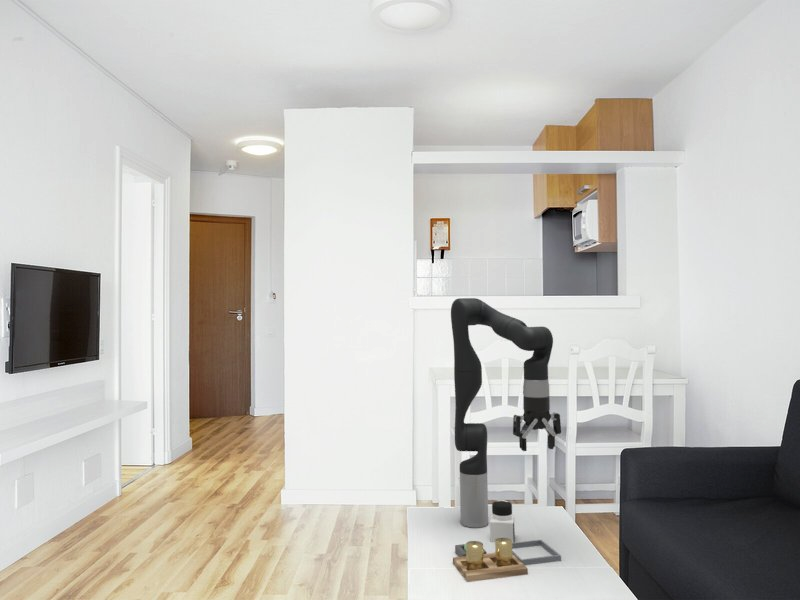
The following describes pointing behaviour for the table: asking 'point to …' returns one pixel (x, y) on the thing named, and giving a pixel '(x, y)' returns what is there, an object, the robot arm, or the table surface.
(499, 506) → the medicine bottle
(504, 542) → the cylinder
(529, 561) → the tray
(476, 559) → the cylinder
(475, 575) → the tray
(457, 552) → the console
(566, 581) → the table surface
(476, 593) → the table surface
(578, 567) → the table surface
